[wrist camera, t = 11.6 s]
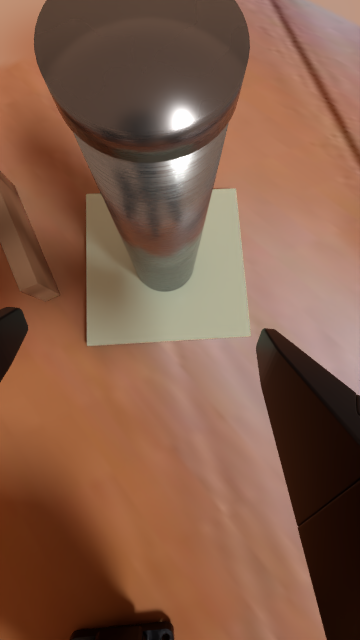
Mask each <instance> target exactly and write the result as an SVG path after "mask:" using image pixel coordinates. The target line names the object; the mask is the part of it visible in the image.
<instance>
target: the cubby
mask: <svg viewBox="0 0 360 640" xmlns="http://www.w3.org/2000/svg"><path fill="white" fill-rule="evenodd" d="M0 243H1V245H2V248H3V250H4V253H5V255H6V258H7V260H8V263H9V265H10V268H11V270H12V273H13V275H14V278H15V280H16V283H17V285H18V288H19V290H20V291H21V292H23V293H26V294H28V295H30V296H33V297H35V298H38V299H40V300H43V301H48V300H50V299H52V298H55V297H57V296H59V295H60V293H59V291H58V288H57V286H56V284H55V281H54V279H53V276H52V274H51V272H50V269H49V267H48V264H47V262H46V260H45V257H44V255H43V253H42V250H41V248H40V245H39V243H38V241H37V238H36V236H35V234H34V231H33V229H32V226H31V224H30V222H29V219H28V217H27V214H26V212H25V210H24V207H23V205H22V203H21V200H20V198H19V195H18V193H17V191H16V188H15V186H14V185H13V184H12V183H11V182H10V181H9V180H8V179H7V178H6V177H5V176H4V175H3V173H2V172H1V171H0Z"/></svg>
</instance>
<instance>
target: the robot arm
mask: <svg viewBox="0 0 360 640" xmlns="http://www.w3.org/2000/svg"><path fill="white" fill-rule="evenodd" d="M27 331H28V325H27V322H26V319H25V317H24V314H23V312H22V310H21V309H20V308H15V307H6V308H3V309H0V382H1V380H2V379H3V377H4V376H5V374H6V372H7V371H8V369H9V367H10V366H11V364H12V362H13V360H14V358H15V356H16V354H17V352H18V350H19V348H20V346H21V344H22V342H23V340H24V338H25V336H26V334H27ZM256 353H257V360H258V368H259V375H260V382H261V388H262V392H263V396H264V400H265V403H266V407H267V411H268V415H269V419H270V423H271V427H272V430H273V434H274V438H275V442H276V446H277V450H278V453H279V457H280V461H281V465H282V469H283V473H284V477H285V480H286V484H287V488H288V492H289V496H290V500H291V503H292V507H293V511H294V515H295V519H296V523H297V526H299V527H298V531H299V535H300V539H301V543H302V546H303V550H304V554H305V558H306V562H307V566H308V569H309V573H310V577H311V581H312V585H313V589H314V593H315V596H316V600H317V604H318V608H319V612H320V616H321V619H322V623H323V627H324V631H325V635H326V638H327V640H360V396H359V395H356V393H355V392H354V391H353V390H352V389H350V388H349V387H348V386H346V385H345V384H344V383H343V382H341V381H340V380H339V379H337V378H336V377H335V376H334V375H332V374H331V373H330V372H329V371H327V370H326V369H325V368H323V367H322V366H321V365H320V364H318V363H317V362H316V361H315V360H313V359H312V358H311V357H309V356H308V355H307V354H306V353H304V352H303V351H302V350H300V349H299V348H298V347H297V346H295V345H294V344H293V343H292V342H290V341H289V340H288V339H286V338H285V337H284V336H283V335H281V334H280V333H279V332H278V331H276V330H275V329H267V328H264V329H263V330H262V331H261V334H260V337H259V340H258V342H257V346H256ZM165 633H167V634H168V635H164V634H165ZM70 640H174V628H173V626H172V624H171V623H170V622H166V621H165V622H155V623H145V624H135V625H125V626H115V627H106V628H96V629H86V630H77V631H75V632H74V633H72V635H71V637H70Z"/></svg>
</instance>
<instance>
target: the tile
mask: <svg viewBox="0 0 360 640" xmlns="http://www.w3.org/2000/svg"><path fill="white" fill-rule="evenodd" d="M86 280H87V346H101V345H117V344H134V343H151V342H168V341H185V340H202V339H219V338H236V337H250V336H251V332H250V322H249V312H248V302H247V292H246V283H245V273H244V263H243V253H242V244H241V234H240V224H239V214H238V205H237V195H236V189H213V190H212V194H211V199H210V203H209V207H208V211H207V215H206V220H205V224H204V228H203V232H202V236H201V241H200V245H199V249H198V253H197V257H196V262H195V266H194V270H193V273H192V276H191V277H190V279H189V280H188V282H187V283H186V284H185V285H183V286H182V287H181V288H179V289H176V290H174V291H169V292H161V291H156V290H153V289H151V288H149V287H148V286H146V285H145V284H144V283H143V282H142V281H141V279H140V278H139V276H138V274H137V272H136V270H135V268H134V265H133V263H132V261H131V259H130V257H129V254H128V252H127V250H126V248H125V246H124V243H123V241H122V239H121V237H120V235H119V232H118V230H117V228H116V226H115V223H114V221H113V219H112V217H111V215H110V212H109V210H108V208H107V206H106V204H105V201H104V199H103V197H102V195H101V193H99V194H86Z"/></svg>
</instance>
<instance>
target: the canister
mask: <svg viewBox="0 0 360 640" xmlns="http://www.w3.org/2000/svg"><path fill="white" fill-rule="evenodd" d="M34 50H35V55H36V60H37V64H38V66H39V69H40V71H41V74H42V76H43V78H44V80H45V82H46V84H47V87H48V89H49V91H50V93H51V95H52V97H53V99H54V101H55V104H56V106H57V108H58V110H59V112H60V114H61V116H62V117H63V119H64V121H65V122H66V124H67V125H68V126H69V128H70V129H71V130H72V131H73V133H74V135H75V137H76V140H77V142H78V144H79V146H80V148H81V151H82V153H83V155H84V157H85V159H86V162H87V164H88V166H89V168H90V170H91V173H92V175H93V177H94V179H95V182H96V184H97V186H98V188H99V190H100V193H101V195H102V197H103V199H104V201H105V204H106V206H107V208H108V210H109V212H110V215H111V217H112V219H113V221H114V223H115V226H116V228H117V230H118V232H119V235H120V237H121V239H122V241H123V243H124V246H125V248H126V250H127V252H128V254H129V257H130V259H131V261H132V263H133V265H134V268H135V270H136V272H137V274H138V276H139V278H140V279H141V281H142V282H143V283H144V284H145V285H146V286H148V287H149V288H151V289H153V290H156V291H161V292H169V291H174V290H176V289H179V288H181V287H182V286H183V285H185V284H186V283H187V282H188V280H189V279H190V277H191V276H192V273H193V270H194V266H195V262H196V257H197V253H198V249H199V245H200V241H201V236H202V232H203V228H204V224H205V220H206V215H207V211H208V207H209V203H210V199H211V194H212V190H213V186H214V182H215V178H216V173H217V169H218V165H219V161H220V157H221V152H222V148H223V144H224V140H225V136H226V131H227V127H228V123H229V121H230V119H231V117H232V115H233V113H234V111H235V109H236V105H237V102H238V98H239V94H240V90H241V86H242V82H243V78H244V74H245V70H246V67H247V63H248V58H249V50H250V42H249V33H248V28H247V24H246V21H245V18H244V15H243V13H242V11H241V9H240V8H239V6H238V4H237V3H236V1H235V0H47V1H46V2H45V4H44V5H43V7H42V9H41V12H40V14H39V16H38V19H37V23H36V27H35V34H34Z"/></svg>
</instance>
